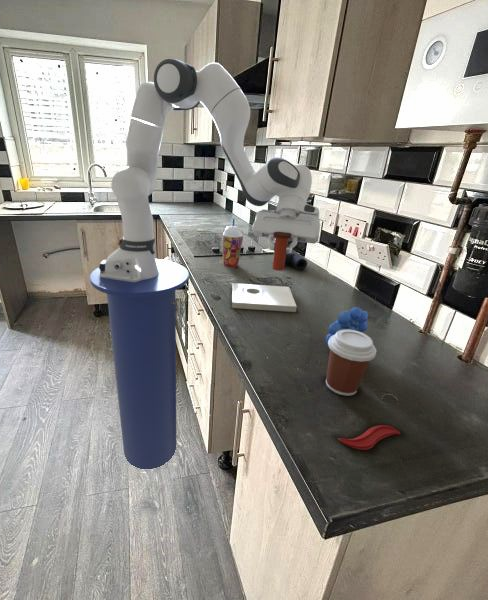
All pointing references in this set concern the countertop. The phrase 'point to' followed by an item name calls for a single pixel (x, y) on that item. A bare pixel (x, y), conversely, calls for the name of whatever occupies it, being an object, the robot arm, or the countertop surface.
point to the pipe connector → (295, 260)
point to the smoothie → (232, 245)
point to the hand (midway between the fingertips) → (280, 250)
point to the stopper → (280, 250)
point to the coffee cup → (348, 360)
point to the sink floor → (262, 297)
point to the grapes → (349, 322)
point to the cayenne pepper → (370, 437)
